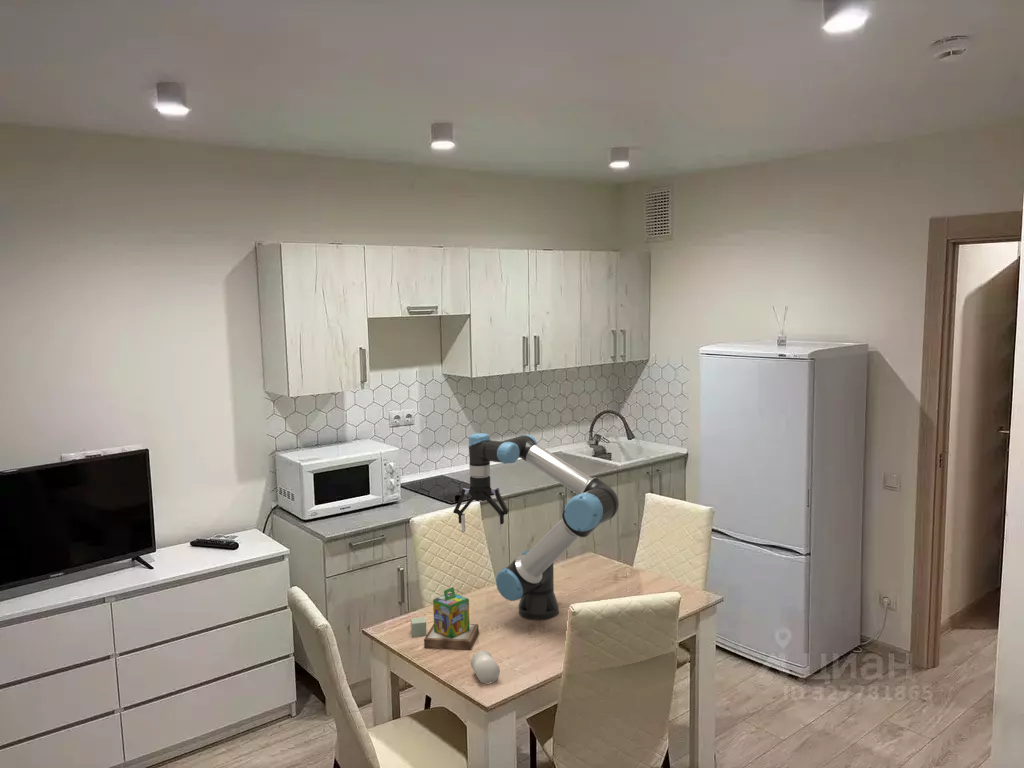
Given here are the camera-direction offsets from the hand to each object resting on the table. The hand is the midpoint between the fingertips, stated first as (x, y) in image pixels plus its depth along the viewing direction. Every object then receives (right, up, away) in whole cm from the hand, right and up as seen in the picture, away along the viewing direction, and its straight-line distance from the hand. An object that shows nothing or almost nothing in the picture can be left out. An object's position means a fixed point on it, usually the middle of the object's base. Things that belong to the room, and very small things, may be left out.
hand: (481, 532), depth 278 cm
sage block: (-22, -34, -12) cm, 42 cm away
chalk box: (-9, -31, -18) cm, 37 cm away
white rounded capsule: (+2, -32, -41) cm, 53 cm away
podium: (-9, -34, -18) cm, 39 cm away
